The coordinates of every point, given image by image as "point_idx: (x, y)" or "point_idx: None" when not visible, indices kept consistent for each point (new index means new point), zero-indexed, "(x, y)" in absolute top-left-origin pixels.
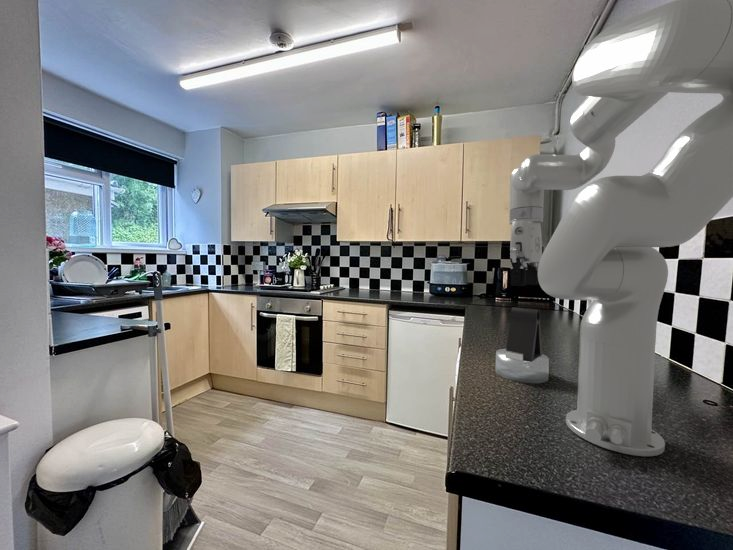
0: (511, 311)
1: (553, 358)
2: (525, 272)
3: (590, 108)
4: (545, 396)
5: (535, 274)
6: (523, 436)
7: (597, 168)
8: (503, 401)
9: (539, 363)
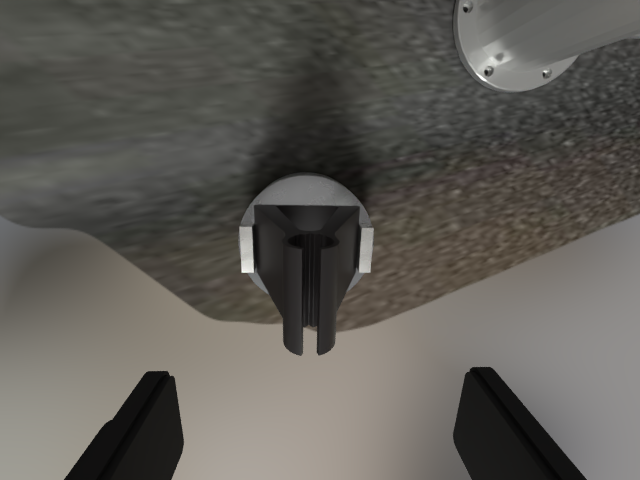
0: (334, 342)
1: (80, 207)
2: (558, 466)
3: None
4: (410, 151)
5: (124, 469)
6: (605, 137)
7: None
8: (489, 205)
9: (345, 188)
